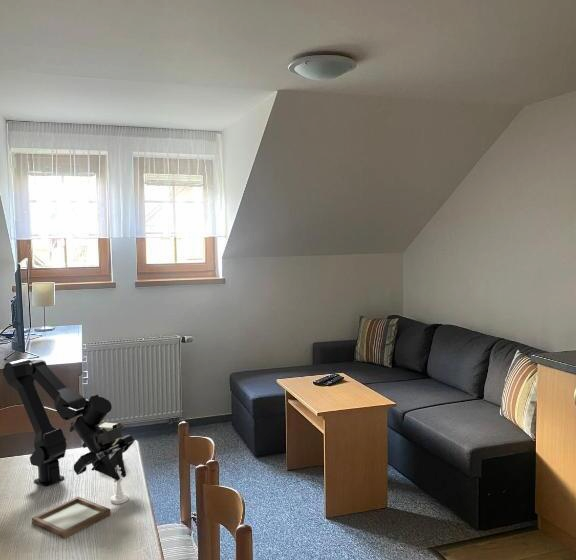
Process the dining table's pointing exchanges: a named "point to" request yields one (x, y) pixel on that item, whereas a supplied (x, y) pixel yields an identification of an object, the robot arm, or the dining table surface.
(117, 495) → the chess piece
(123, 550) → the dining table surface
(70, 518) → the walnut tray
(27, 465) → the dining table surface
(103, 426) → the skincare box
